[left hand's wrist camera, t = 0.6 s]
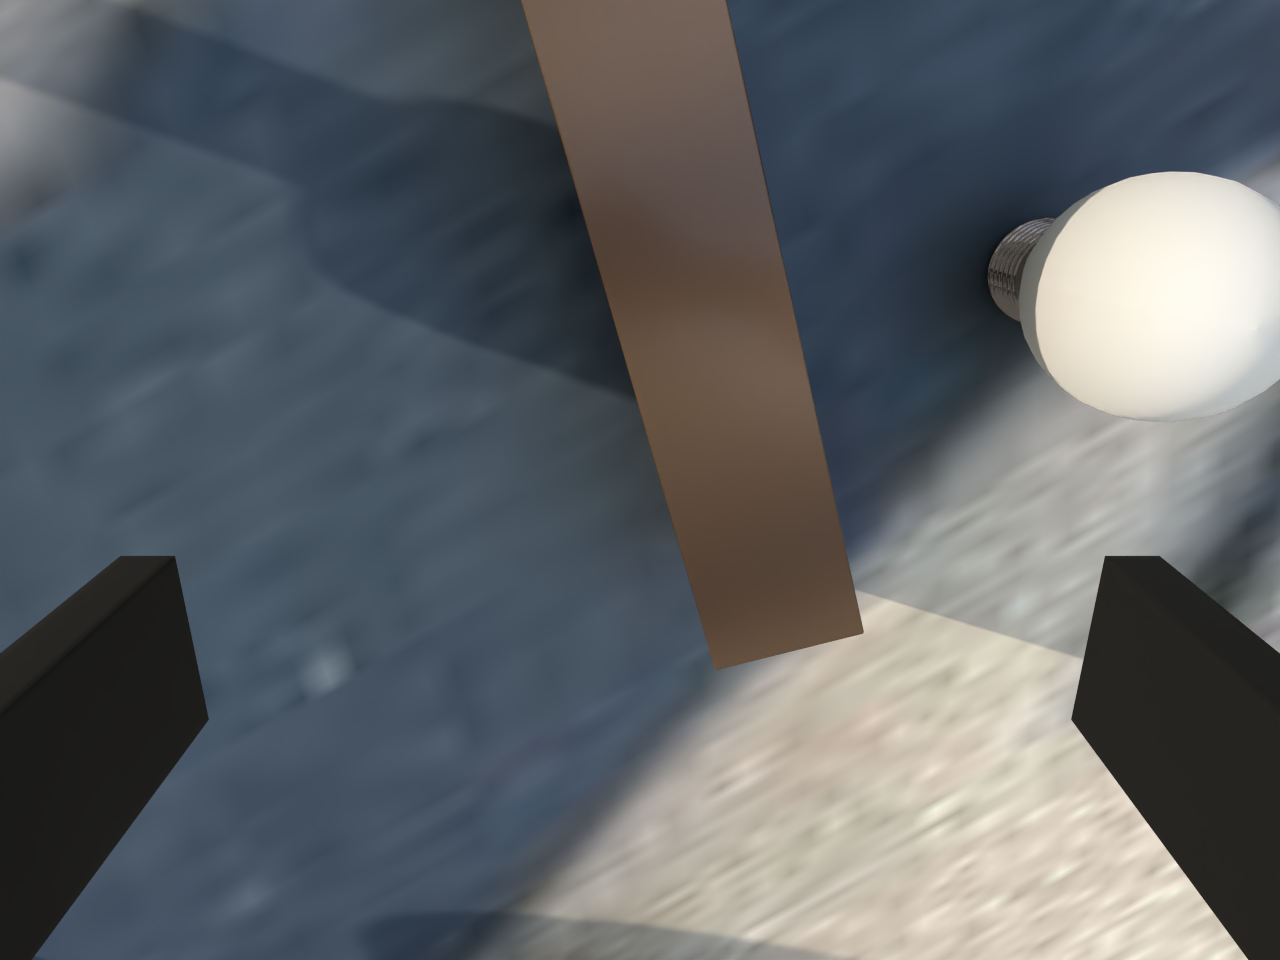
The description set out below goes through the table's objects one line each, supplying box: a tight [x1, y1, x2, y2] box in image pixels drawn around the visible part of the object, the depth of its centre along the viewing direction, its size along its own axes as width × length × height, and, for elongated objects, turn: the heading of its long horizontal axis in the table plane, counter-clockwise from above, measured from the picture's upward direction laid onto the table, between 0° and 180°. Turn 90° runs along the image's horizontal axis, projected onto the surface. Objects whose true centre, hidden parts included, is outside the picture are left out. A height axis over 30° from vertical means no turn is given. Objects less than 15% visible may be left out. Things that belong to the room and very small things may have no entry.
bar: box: [521, 0, 864, 670], centre depth 26 cm, size 26×4×9 cm, turn 16°
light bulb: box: [988, 172, 1280, 422], centre depth 26 cm, size 7×7×11 cm
